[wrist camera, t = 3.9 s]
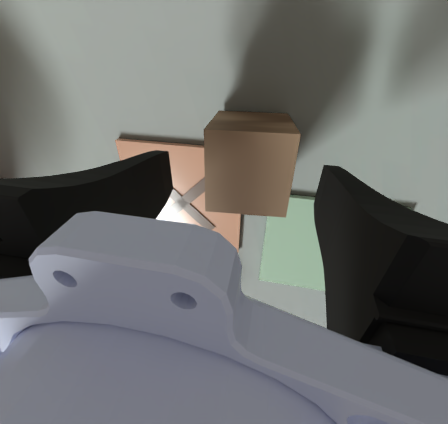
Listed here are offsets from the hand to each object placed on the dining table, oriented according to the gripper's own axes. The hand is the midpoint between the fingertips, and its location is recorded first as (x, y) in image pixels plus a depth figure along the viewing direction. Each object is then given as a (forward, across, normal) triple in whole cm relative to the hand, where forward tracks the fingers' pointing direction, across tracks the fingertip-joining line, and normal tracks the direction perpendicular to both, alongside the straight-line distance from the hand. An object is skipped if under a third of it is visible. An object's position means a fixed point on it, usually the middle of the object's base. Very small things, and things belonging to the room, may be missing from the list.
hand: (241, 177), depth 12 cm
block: (+5, 0, 0) cm, 5 cm away
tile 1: (+5, +5, +5) cm, 9 cm away
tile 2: (+5, -6, +8) cm, 11 cm away
